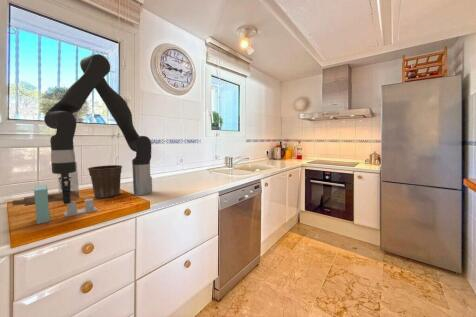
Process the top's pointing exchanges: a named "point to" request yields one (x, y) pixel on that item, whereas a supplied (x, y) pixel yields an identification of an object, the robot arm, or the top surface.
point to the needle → (51, 198)
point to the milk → (73, 183)
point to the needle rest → (88, 208)
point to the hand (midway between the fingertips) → (66, 202)
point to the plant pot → (106, 180)
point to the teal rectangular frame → (42, 204)
